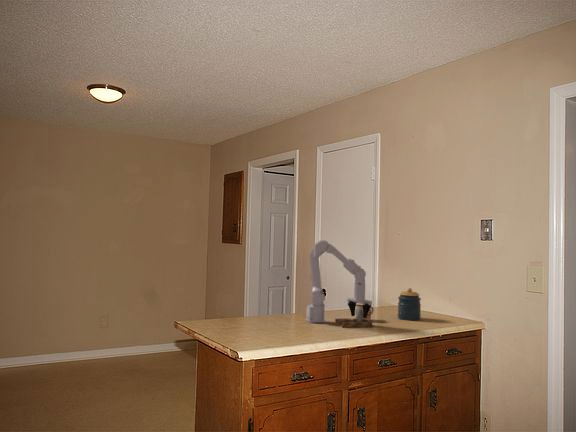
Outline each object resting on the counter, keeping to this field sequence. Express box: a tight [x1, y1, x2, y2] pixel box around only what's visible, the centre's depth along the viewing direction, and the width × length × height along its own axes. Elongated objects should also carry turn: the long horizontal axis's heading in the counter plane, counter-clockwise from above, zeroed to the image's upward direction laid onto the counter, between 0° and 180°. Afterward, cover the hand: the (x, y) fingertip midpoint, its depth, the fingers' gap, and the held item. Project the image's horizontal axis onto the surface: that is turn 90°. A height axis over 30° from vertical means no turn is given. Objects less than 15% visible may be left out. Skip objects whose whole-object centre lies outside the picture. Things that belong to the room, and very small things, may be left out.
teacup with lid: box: [354, 302, 375, 321], centre depth 274 cm, size 12×9×12 cm
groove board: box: [334, 317, 373, 329], centre depth 256 cm, size 16×12×2 cm
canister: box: [397, 287, 422, 321], centre depth 282 cm, size 13×13×18 cm
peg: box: [356, 310, 362, 322], centre depth 259 cm, size 3×3×7 cm
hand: (358, 317), depth 259 cm, fingers open, 7 cm apart
